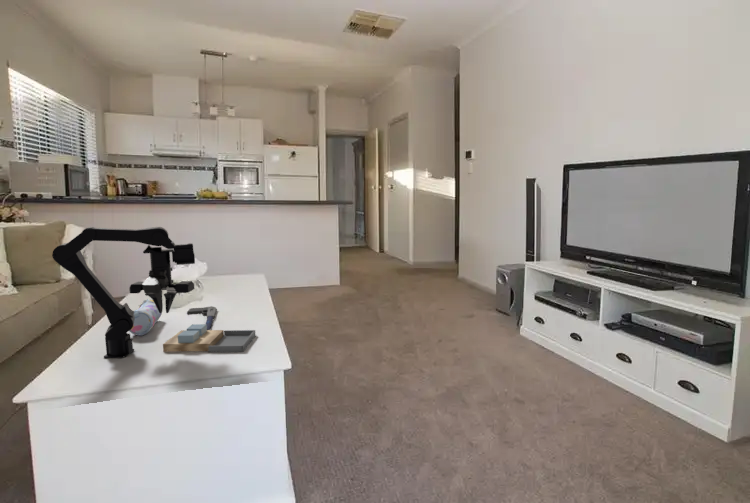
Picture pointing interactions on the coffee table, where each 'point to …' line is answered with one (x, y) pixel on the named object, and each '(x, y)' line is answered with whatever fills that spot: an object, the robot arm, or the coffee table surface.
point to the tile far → (198, 328)
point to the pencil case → (145, 317)
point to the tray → (233, 341)
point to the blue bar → (205, 314)
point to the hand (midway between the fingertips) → (164, 312)
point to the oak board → (199, 345)
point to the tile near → (188, 336)
